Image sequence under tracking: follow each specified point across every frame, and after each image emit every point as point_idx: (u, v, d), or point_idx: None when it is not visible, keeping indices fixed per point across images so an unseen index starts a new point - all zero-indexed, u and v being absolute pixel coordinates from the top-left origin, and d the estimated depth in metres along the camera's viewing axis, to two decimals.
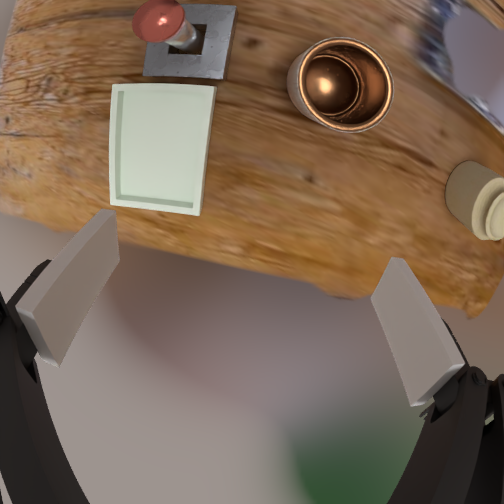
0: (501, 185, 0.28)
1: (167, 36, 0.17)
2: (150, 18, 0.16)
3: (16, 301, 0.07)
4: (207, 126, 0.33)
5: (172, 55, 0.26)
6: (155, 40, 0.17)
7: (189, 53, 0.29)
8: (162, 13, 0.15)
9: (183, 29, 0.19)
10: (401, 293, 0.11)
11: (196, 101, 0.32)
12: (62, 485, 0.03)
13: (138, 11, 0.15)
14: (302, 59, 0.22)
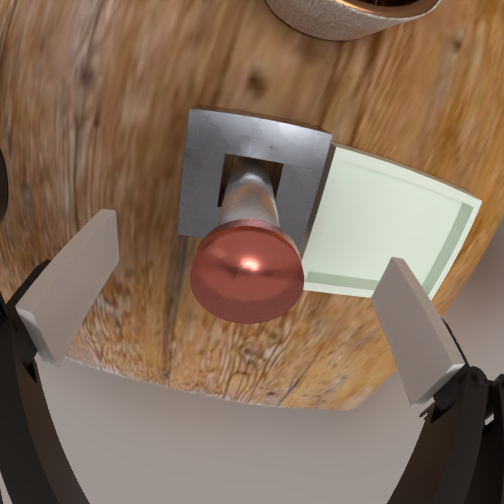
0: None
1: (301, 264, 0.10)
2: (243, 295, 0.11)
3: (16, 301, 0.07)
4: (392, 166, 0.21)
5: (276, 208, 0.21)
6: (301, 285, 0.11)
7: None
8: (236, 274, 0.11)
9: (262, 212, 0.13)
10: (401, 293, 0.11)
11: (347, 173, 0.23)
12: (62, 485, 0.03)
13: (219, 314, 0.12)
14: None
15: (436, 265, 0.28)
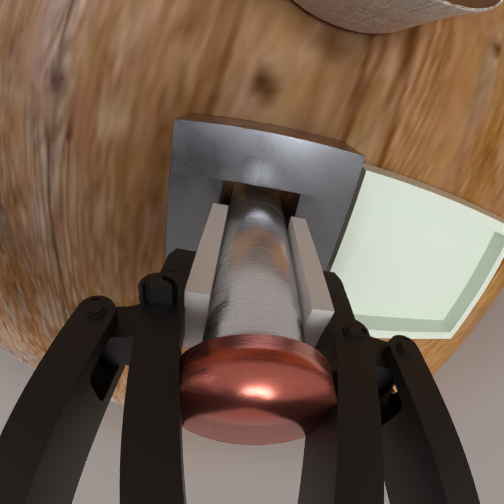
0: None
1: None
2: (247, 427, 0.07)
3: None
4: (430, 194, 0.16)
5: None
6: None
7: None
8: (236, 413, 0.06)
9: (276, 295, 0.08)
10: (292, 248, 0.13)
11: (374, 200, 0.18)
12: (183, 488, 0.04)
13: (213, 438, 0.07)
14: None
15: (461, 299, 0.23)
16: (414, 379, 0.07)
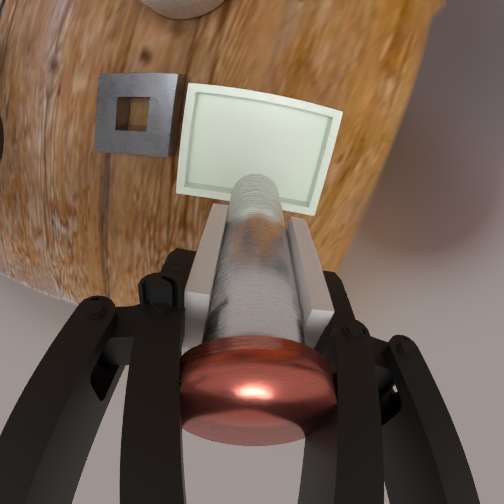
0: None
1: (336, 402, 0.06)
2: (246, 429, 0.07)
3: None
4: (234, 89, 0.28)
5: (148, 126, 0.28)
6: None
7: None
8: (236, 414, 0.06)
9: (276, 296, 0.08)
10: (292, 248, 0.13)
11: (207, 102, 0.30)
12: (183, 488, 0.04)
13: (213, 439, 0.07)
14: None
15: (314, 178, 0.35)
16: (414, 379, 0.07)
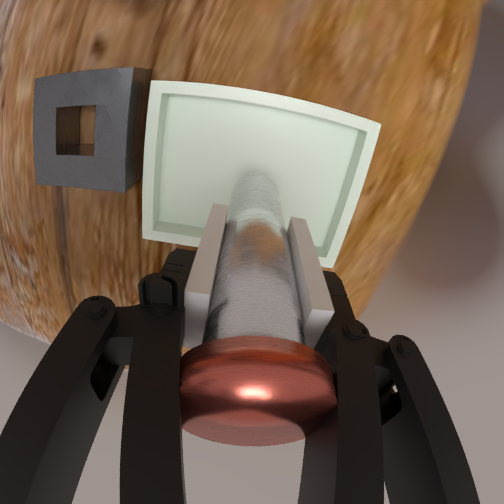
0: None
1: (336, 402, 0.06)
2: (247, 429, 0.07)
3: None
4: (219, 87, 0.18)
5: (96, 148, 0.19)
6: None
7: None
8: (236, 414, 0.06)
9: (276, 296, 0.08)
10: (292, 248, 0.13)
11: (181, 108, 0.20)
12: (183, 488, 0.04)
13: (213, 439, 0.07)
14: None
15: (334, 217, 0.25)
16: (414, 379, 0.07)
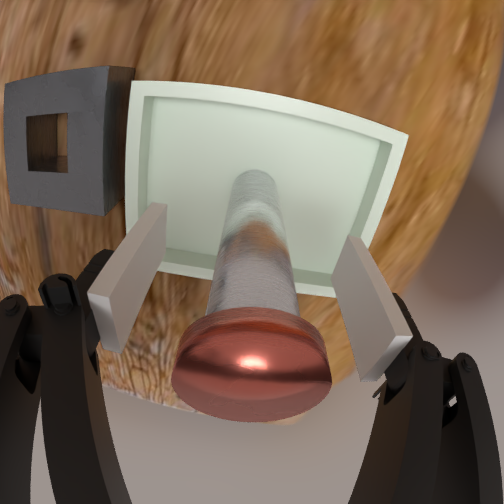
0: None
1: (329, 371, 0.07)
2: (246, 401, 0.07)
3: (79, 289, 0.08)
4: (214, 87, 0.14)
5: (69, 164, 0.15)
6: None
7: None
8: (236, 383, 0.07)
9: (273, 276, 0.09)
10: (354, 269, 0.12)
11: (169, 113, 0.17)
12: (113, 483, 0.04)
13: (214, 414, 0.08)
14: None
15: None
16: (471, 391, 0.06)
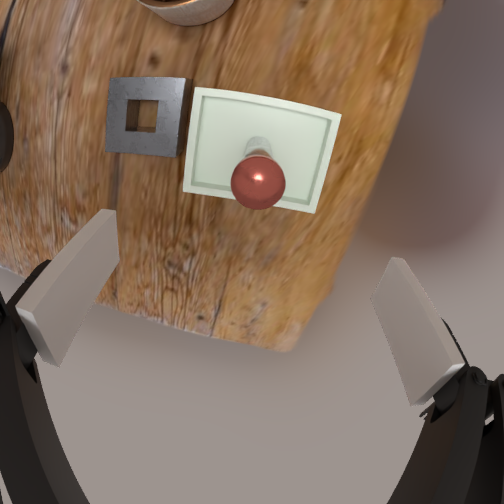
0: None
1: (283, 173, 0.22)
2: (256, 190, 0.22)
3: (16, 301, 0.07)
4: (238, 93, 0.30)
5: (157, 128, 0.30)
6: (284, 186, 0.22)
7: None
8: (253, 178, 0.22)
9: None
10: (401, 293, 0.11)
11: (212, 105, 0.32)
12: (62, 485, 0.03)
13: (243, 203, 0.23)
14: (154, 7, 0.18)
15: (314, 177, 0.37)
16: None
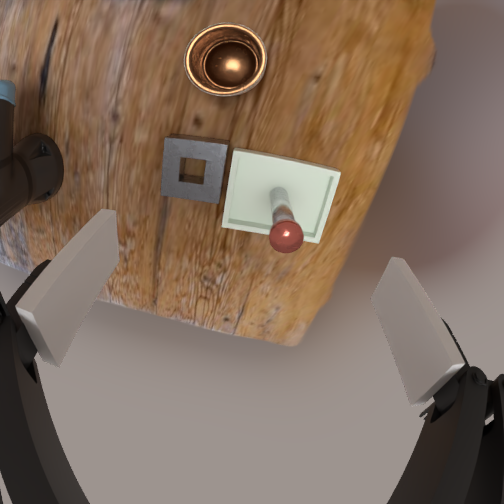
0: None
1: (302, 232, 0.36)
2: (285, 242, 0.36)
3: (16, 301, 0.07)
4: (266, 157, 0.43)
5: (204, 181, 0.44)
6: (303, 239, 0.36)
7: None
8: (283, 234, 0.36)
9: (290, 216, 0.38)
10: (401, 293, 0.11)
11: (245, 163, 0.46)
12: (62, 485, 0.03)
13: (276, 249, 0.37)
14: (207, 92, 0.32)
15: (319, 217, 0.50)
16: None
